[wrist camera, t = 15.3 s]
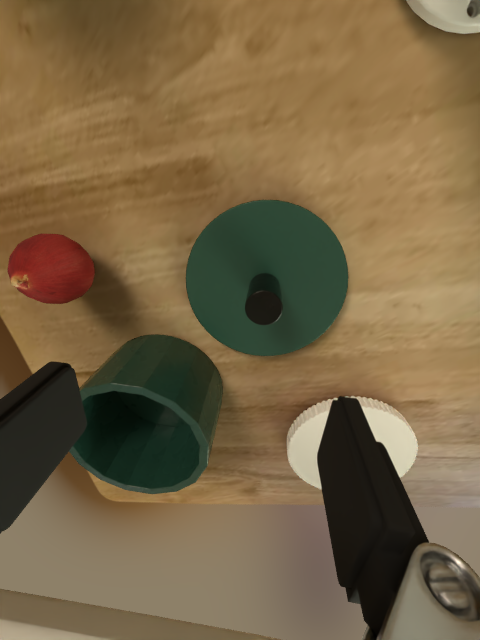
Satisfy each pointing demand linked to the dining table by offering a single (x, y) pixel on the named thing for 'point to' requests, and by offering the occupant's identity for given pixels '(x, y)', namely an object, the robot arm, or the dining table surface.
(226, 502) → the dining table surface
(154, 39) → the dining table surface
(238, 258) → the lid
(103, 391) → the pot
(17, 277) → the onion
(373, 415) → the plastic lid
